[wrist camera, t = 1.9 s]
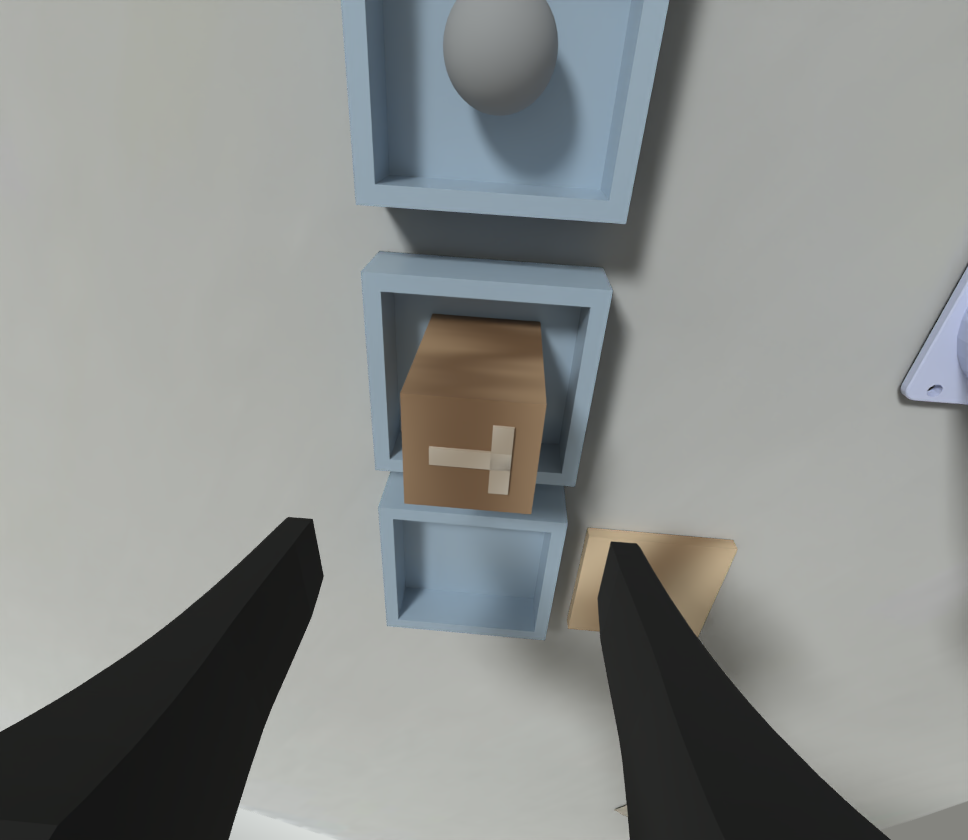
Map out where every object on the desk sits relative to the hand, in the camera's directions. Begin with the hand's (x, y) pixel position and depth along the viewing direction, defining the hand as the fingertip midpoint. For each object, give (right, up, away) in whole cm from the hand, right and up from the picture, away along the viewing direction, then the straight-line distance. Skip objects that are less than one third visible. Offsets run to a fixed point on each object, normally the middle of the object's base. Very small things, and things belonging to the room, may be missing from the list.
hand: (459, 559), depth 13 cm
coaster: (+9, -5, +14) cm, 18 cm away
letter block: (+1, +6, +8) cm, 9 cm away
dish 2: (+1, +6, +8) cm, 10 cm away
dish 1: (+1, +14, +3) cm, 15 cm away
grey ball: (+1, +14, +2) cm, 14 cm away
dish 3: (0, -3, +13) cm, 14 cm away
